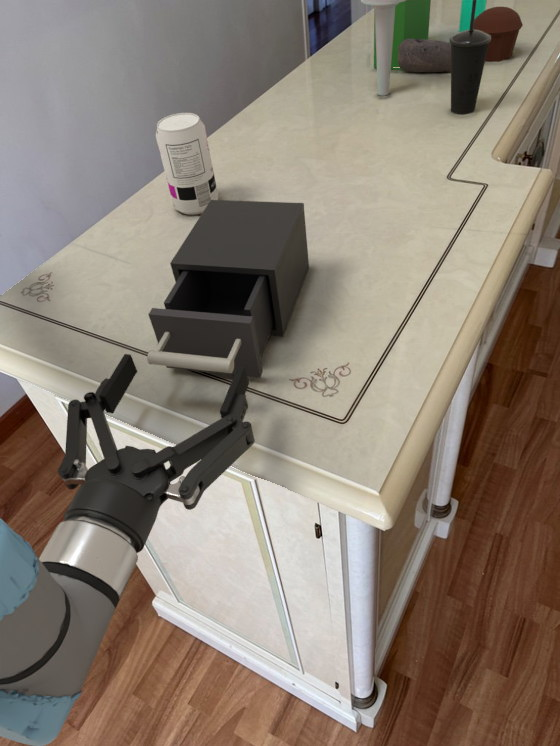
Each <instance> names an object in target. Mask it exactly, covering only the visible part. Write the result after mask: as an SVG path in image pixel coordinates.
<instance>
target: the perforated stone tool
mask: <svg viewBox="0 0 560 746" xmlns="http://www.w3.org/2000/svg"><path fill="white" fill-rule="evenodd" d="M397 57H398V64H399V67H400V68H401V69H402V70H401V71H406V72H412V73H444V72H448V71H449V72H451V43H450V42H448V41H443V40H437V39H429V38H428V39H427V40H423V39H405V40H403V41H402V43H401V44H400V45H399V46H398V56H397Z"/></svg>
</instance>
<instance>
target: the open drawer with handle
mask: <svg viewBox="0 0 560 746" xmlns="http://www.w3.org/2000/svg"><path fill="white" fill-rule="evenodd" d="M163 306H164V308H157V307H152V308H151V309H150V310H149V312H148V317H149V321H150V324H151V327H152V330H153V332H154V335H155V338H156V341H157V345H156V347H155V348H154V350H149V351H148V353H147V356H146V357H147V358H146V361H147V363H148V364H149V365H153V366H161V367H166V369H174V370H183V371H193V372H199V373H200V372H201V373H210V374H217V375H218V374H219V375H228V376H235V373H236V371H237V368H238V366H243V367H245V368H246V373H247V378H254V379H261V378H262V375H263V372H264V370H263V365H262V359H261V357H262V355H263V352H264V350H265V347H266V346H267V343H268V340H269V338H270V336H271V335H270V333H271V330H272V328H273V325H274V323H275V316H274V309H273V302H272V295H271V288H270V281H269V275H256V274H241V273H227V272H212V271H197V270H183V272H182V273H181V275H180V277H179V278H178V280H177V281H176V282H175V283H174V284H173V287H172V288H171V290H170V291H169V293H168V295H167V296H166V298H165V300H164V301H163Z"/></svg>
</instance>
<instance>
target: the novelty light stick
mask: <svg viewBox="0 0 560 746" xmlns="http://www.w3.org/2000/svg"><path fill="white" fill-rule="evenodd" d="M403 1H406V0H360V2H361V4H363V5H366V6H367V5H368V6H372V7H373V8H375V30H376V58H377V68H376V81H377V82H376V83H377V95H378V96H383V97H384V96H388V95H389V94H390V84H391V71H392V70H391V58H392V44H393V30H394V17H395V6H396V5H397V4H399V3H400V2H403Z"/></svg>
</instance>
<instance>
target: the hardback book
mask: <svg viewBox="0 0 560 746" xmlns="http://www.w3.org/2000/svg"><path fill="white" fill-rule="evenodd" d="M431 2H432V0H406V1H403V2H400V3H399V4H397V5H396V6H395V17H394V30H393V44H392V58H391V71H392V70H393V71H403V70H402V69H401V68H393V67H399V64H398V57H397V56H398V46H399V45H400V44H401V43H402V41H403V40H405V39H423V40H427V39H429V33H430V32H429V31H430V17H431V16H430V15H431ZM373 8H374V7H373ZM373 11H374V12H373V13H374V15H373V17H374V19H373V25H374V26H373V37H374V38H373V68H374V69H377V58H376V30H375V8H374V10H373ZM374 65H375V66H374Z"/></svg>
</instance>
